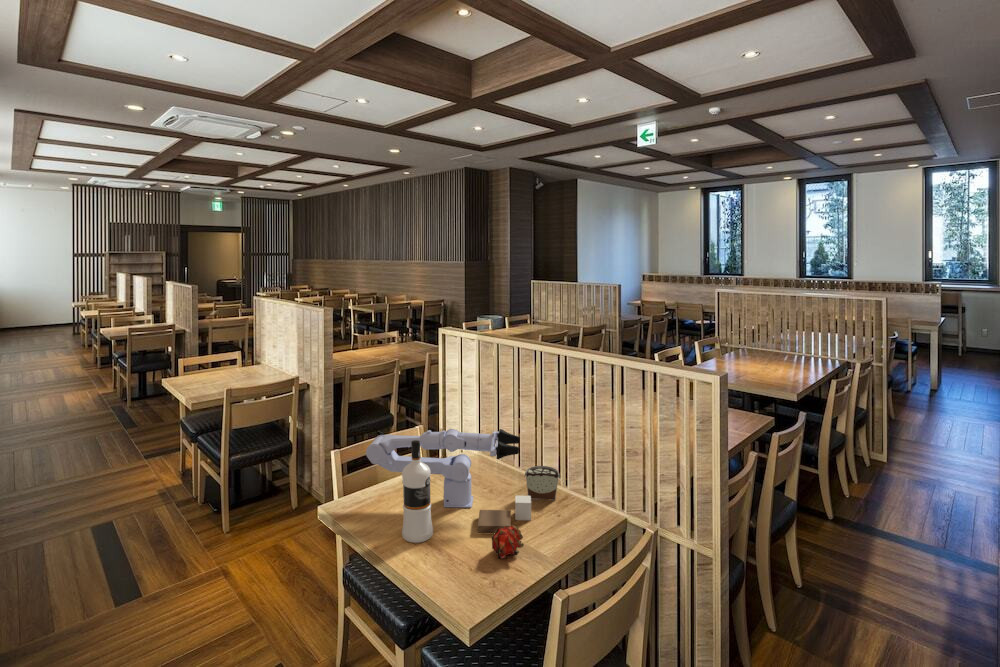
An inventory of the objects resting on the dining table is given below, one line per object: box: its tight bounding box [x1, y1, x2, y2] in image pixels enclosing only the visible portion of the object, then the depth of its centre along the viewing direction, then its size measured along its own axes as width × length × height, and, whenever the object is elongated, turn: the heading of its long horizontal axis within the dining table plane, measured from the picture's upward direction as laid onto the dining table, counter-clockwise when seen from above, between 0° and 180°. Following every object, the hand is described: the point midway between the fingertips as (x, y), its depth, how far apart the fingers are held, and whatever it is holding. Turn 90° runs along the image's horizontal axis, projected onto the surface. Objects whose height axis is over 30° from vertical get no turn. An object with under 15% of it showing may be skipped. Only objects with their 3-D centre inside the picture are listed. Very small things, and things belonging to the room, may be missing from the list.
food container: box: [524, 465, 561, 501], centre depth 188 cm, size 12×6×10 cm, turn 84°
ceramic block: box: [514, 495, 532, 521], centre depth 174 cm, size 5×5×6 cm
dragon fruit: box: [491, 524, 525, 560], centre depth 152 cm, size 8×8×12 cm
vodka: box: [401, 440, 434, 544], centre depth 160 cm, size 9×9×30 cm
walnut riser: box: [477, 509, 512, 534], centre depth 168 cm, size 10×10×3 cm
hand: (519, 445), depth 179 cm, fingers open, 7 cm apart
